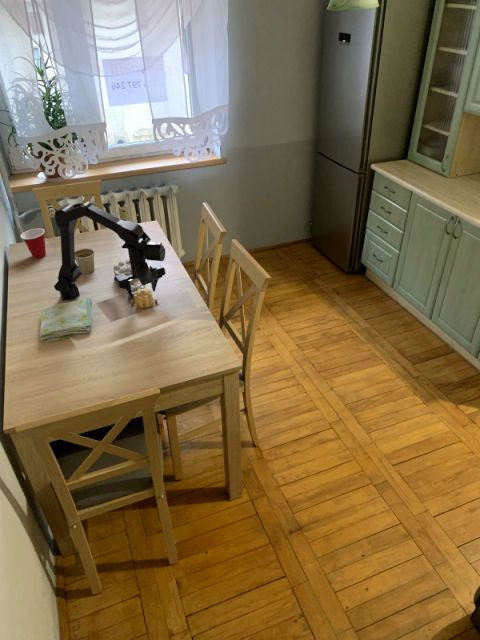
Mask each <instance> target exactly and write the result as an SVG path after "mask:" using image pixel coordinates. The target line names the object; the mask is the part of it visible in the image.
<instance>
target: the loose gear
mask: <svg viewBox="0 0 480 640" xmlns="http://www.w3.org/2000/svg"><path fill="white" fill-rule="evenodd" d="M134 297H135V303H136V306H140V307H142V308H143V307H145V306H146V307H148V306H149V305H150V304H153V299H152V297H153V291H152V290H151V289H148V288H146V287H145V288H144V289H138V290H137V291H135V292H134Z"/></svg>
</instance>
